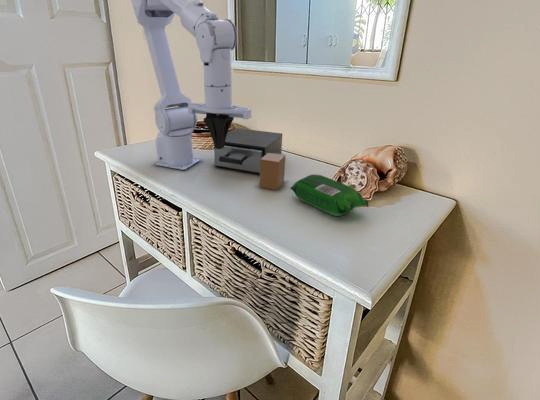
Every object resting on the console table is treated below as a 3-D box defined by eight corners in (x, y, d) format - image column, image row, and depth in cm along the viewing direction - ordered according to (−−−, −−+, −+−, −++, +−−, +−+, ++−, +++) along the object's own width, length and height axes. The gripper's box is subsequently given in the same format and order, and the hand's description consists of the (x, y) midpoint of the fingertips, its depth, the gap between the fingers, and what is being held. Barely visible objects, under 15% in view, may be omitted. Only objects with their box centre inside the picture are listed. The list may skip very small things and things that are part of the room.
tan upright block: (259, 187, 79) (260, 159, 75) (266, 179, 83) (267, 152, 79) (277, 190, 77) (278, 162, 74) (283, 182, 81) (285, 155, 78)
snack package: (345, 227, 62) (349, 202, 60) (287, 196, 74) (288, 175, 71) (368, 216, 66) (373, 192, 64) (309, 189, 77) (311, 168, 75)
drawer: (254, 179, 81) (254, 156, 78) (206, 170, 86) (205, 149, 83) (276, 157, 94) (277, 138, 91) (234, 151, 99) (234, 132, 97)
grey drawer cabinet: (264, 174, 85) (265, 147, 82) (215, 166, 91) (214, 140, 87) (281, 158, 96) (282, 133, 92) (236, 151, 102) (235, 128, 98)
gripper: (257, 84, 70) (255, 146, 76) (198, 80, 75) (201, 139, 82) (243, 89, 64) (243, 156, 70) (180, 85, 70) (185, 147, 76)
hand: (219, 147), depth 75 cm, fingers closed
